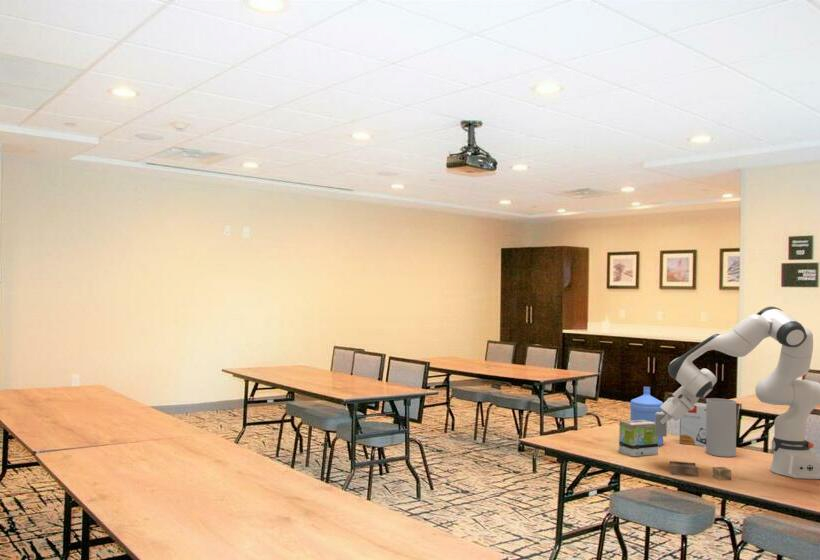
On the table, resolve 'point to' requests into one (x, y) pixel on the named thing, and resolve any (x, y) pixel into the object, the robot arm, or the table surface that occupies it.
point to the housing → (660, 425)
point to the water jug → (646, 409)
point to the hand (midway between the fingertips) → (659, 421)
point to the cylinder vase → (721, 427)
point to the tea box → (638, 438)
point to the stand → (683, 468)
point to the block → (721, 473)
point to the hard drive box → (694, 426)
